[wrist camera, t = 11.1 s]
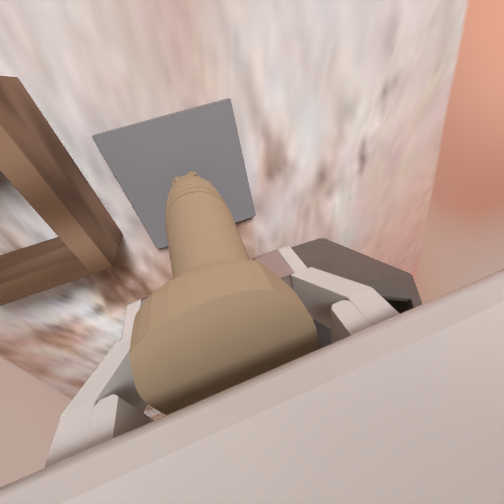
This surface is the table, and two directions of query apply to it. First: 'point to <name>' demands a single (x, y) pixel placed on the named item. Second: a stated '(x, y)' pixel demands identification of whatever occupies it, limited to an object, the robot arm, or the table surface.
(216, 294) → the handle
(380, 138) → the table surface
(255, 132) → the table surface
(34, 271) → the block
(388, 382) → the robot arm
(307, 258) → the planter
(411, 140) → the table surface
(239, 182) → the mat
